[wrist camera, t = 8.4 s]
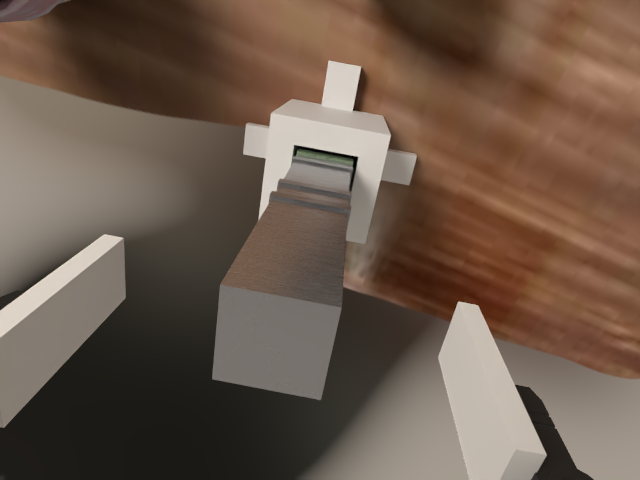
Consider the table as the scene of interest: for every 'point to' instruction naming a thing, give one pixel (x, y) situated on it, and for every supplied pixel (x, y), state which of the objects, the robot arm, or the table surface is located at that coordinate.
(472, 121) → the table surface
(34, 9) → the potted plant
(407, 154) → the housing
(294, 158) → the post
